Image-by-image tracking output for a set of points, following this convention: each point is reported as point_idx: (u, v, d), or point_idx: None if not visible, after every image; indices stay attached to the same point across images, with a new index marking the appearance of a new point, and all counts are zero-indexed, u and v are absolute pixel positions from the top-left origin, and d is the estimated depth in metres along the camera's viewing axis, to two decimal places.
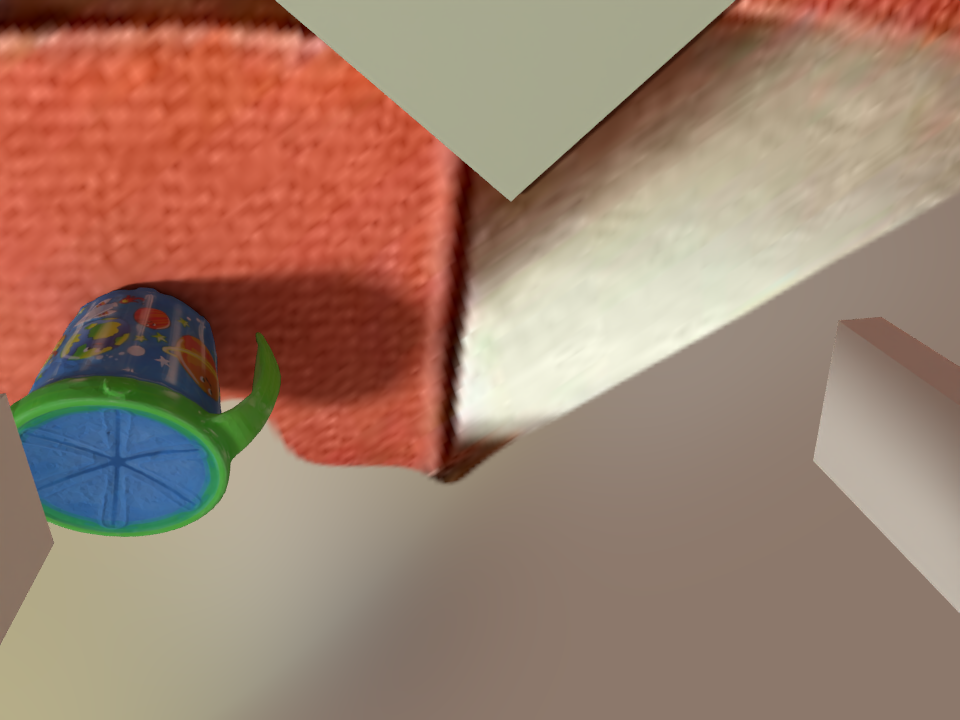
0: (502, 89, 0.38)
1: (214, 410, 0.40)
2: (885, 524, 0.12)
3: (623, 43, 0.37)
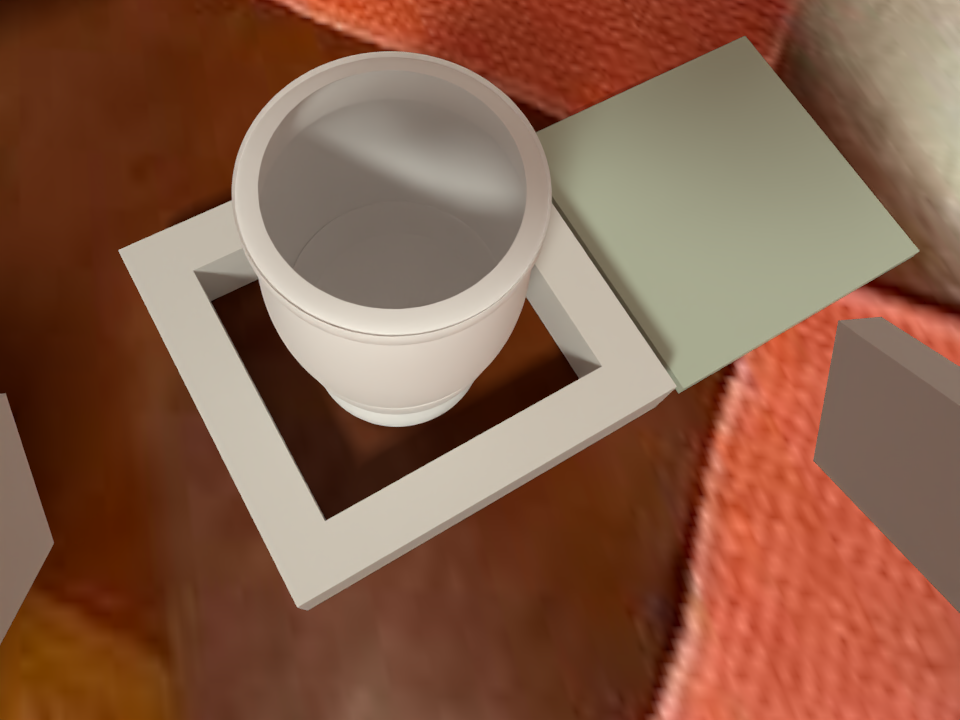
0: (807, 232, 0.43)
1: None
2: (885, 524, 0.12)
3: (784, 138, 0.45)
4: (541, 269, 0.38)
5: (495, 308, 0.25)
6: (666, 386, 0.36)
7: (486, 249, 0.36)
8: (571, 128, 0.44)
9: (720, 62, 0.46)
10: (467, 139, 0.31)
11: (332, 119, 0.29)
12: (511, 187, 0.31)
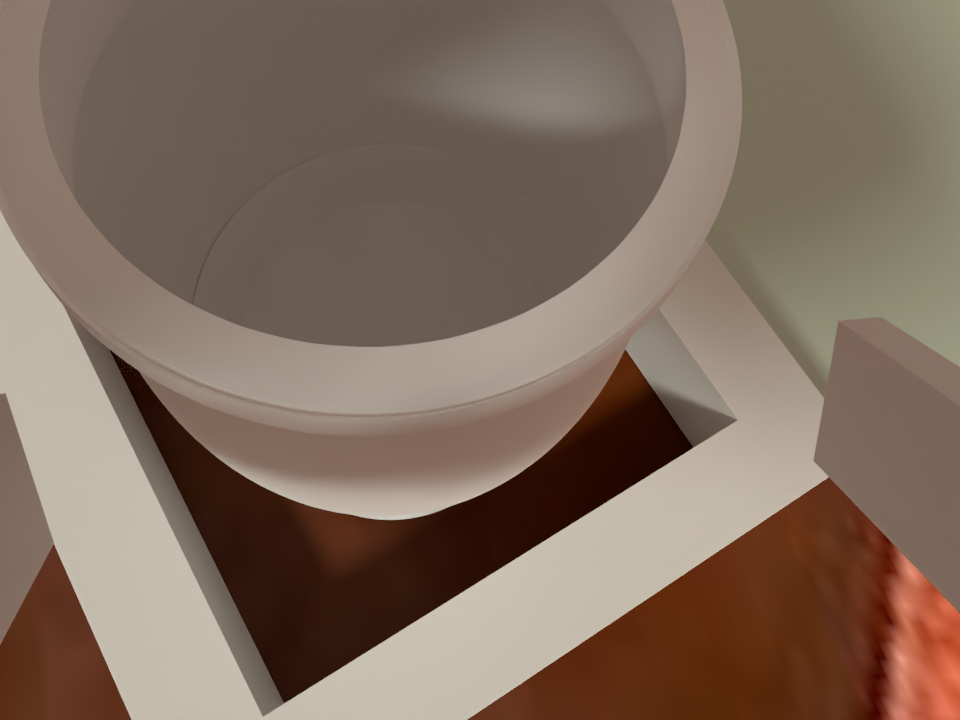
0: None
1: None
2: (885, 524, 0.12)
3: None
4: None
5: (625, 339, 0.10)
6: None
7: (542, 223, 0.21)
8: None
9: None
10: (520, 3, 0.16)
11: None
12: (605, 97, 0.16)
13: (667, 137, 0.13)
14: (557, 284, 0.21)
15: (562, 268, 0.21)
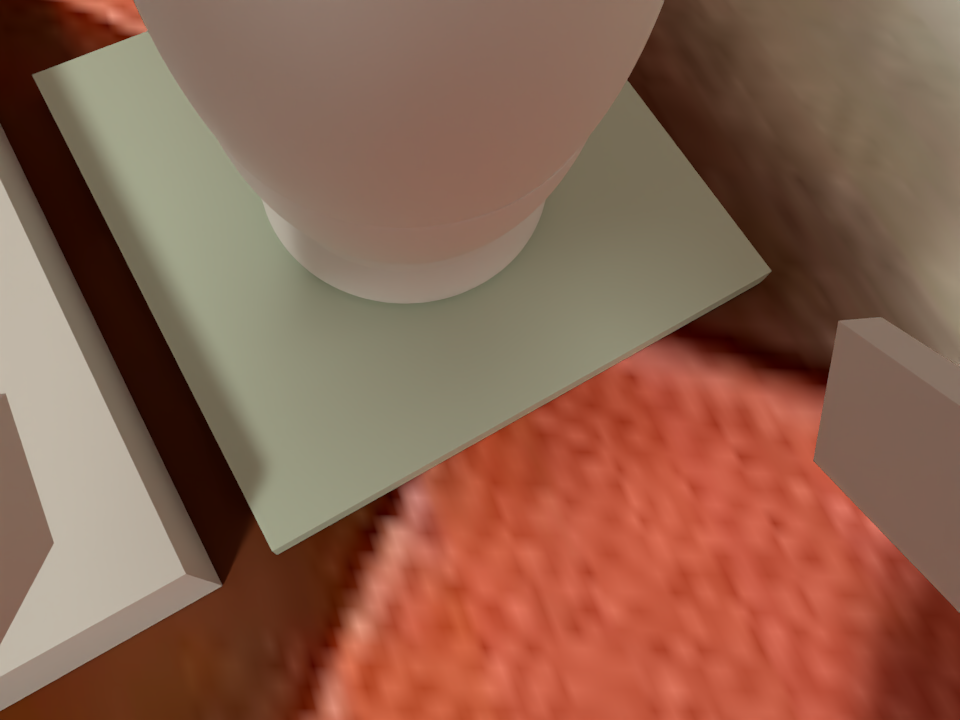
0: (563, 237, 0.23)
1: None
2: (885, 524, 0.12)
3: None
4: None
5: None
6: (162, 574, 0.17)
7: None
8: (145, 51, 0.24)
9: None
10: None
11: None
12: None
13: None
14: None
15: None
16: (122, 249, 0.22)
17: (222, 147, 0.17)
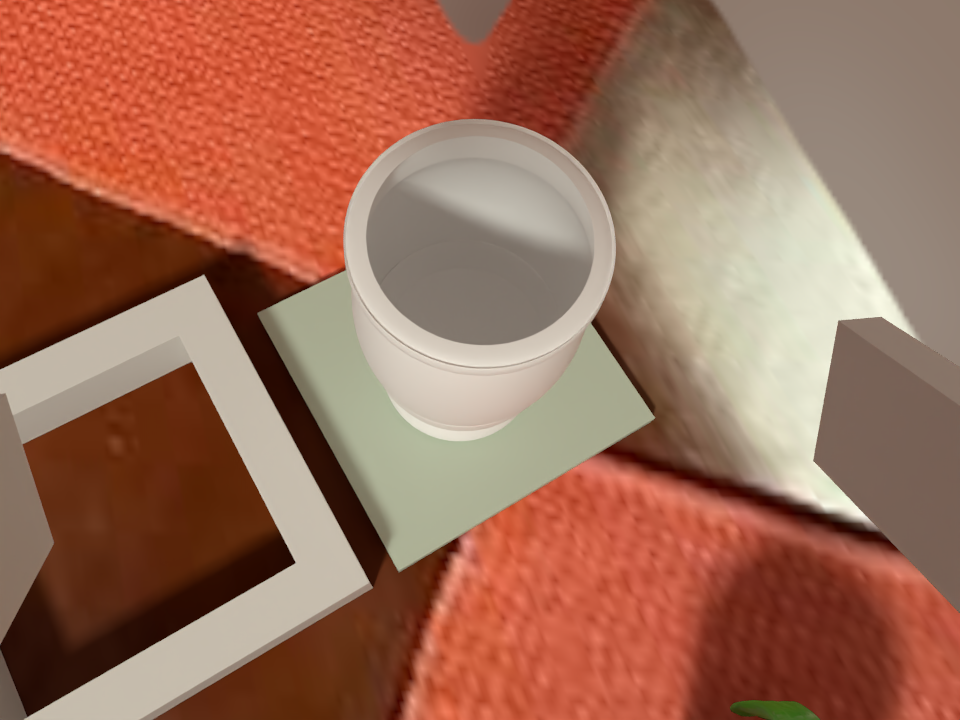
0: (543, 401, 0.44)
1: None
2: (885, 524, 0.12)
3: None
4: (246, 461, 0.39)
5: (570, 343, 0.29)
6: (359, 582, 0.37)
7: (542, 283, 0.40)
8: (315, 297, 0.45)
9: None
10: (533, 190, 0.35)
11: (418, 175, 0.34)
12: (571, 232, 0.35)
13: (592, 262, 0.32)
14: (550, 314, 0.40)
15: (553, 306, 0.40)
16: (313, 413, 0.42)
17: None
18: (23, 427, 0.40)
